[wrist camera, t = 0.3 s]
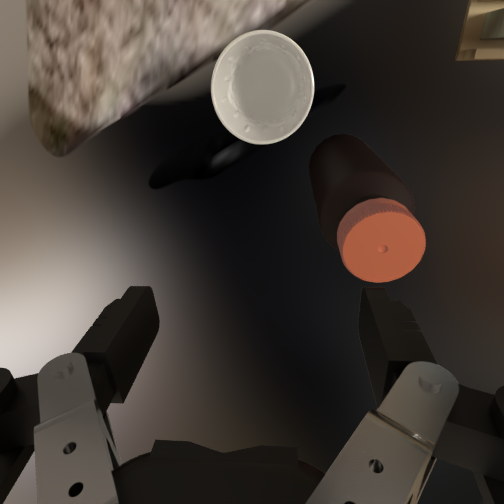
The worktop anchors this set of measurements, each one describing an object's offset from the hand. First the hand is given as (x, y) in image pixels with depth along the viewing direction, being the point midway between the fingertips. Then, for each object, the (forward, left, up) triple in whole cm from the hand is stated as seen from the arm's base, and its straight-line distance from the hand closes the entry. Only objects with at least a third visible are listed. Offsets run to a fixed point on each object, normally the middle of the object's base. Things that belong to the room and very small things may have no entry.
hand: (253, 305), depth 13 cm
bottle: (+2, +7, -28) cm, 29 cm away
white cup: (-6, -1, -28) cm, 29 cm away
